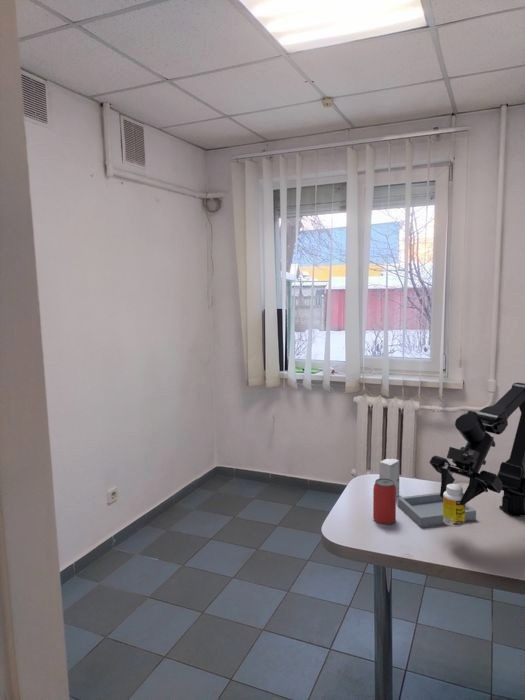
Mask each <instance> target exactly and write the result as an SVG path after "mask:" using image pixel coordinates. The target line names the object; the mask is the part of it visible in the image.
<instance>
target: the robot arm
mask: <svg viewBox="0 0 525 700" xmlns="http://www.w3.org/2000/svg"><path fill="white" fill-rule="evenodd" d="M517 409H519V411H520V416H519V420H518V424H517V427H516V431H515V436H514V439H513V443H512V444H513V445H512V446H511V452H510V454H509V455H510V456H509V458H508V459H507V460H506V461H502V462H501V463H500V466H499V470H498V472H497V474H496V473H493V472H491V471H487V470H481V468H482V466H486V464H487V461H486V457H487V456H488V453H489V451H490V449H491V447H493V448H495V447H496V442H495V439H494V436H491V434H494V435H501V434H503V432H504V431H506V429H507V427H508V425H509V422H508V421H509V418H510V416H511V415H512V414H513V413H514V412H515V411H516V410H517ZM454 426H455V428H456V430H457V431H458V433H459V434H460V435H461V436H462V438H463V439H464V440H465V441H466V445H465V446H461V447H459V448H455V447H452V446H449V447H448V452H447V455H446V458H445V457H442V456H439V455H433V456H432V457H431V459H430V460H429V462H428V463H429V464H430V466H432V468H433V469H434V470H435V471H436V472H437V473H439V474H440V476H441V477H440V478H441V480H440V481H441V484H440V492H439V493H440V496H441V497H442V498H443V493H444V492H445V491H446V488H447V485H448V484H454V482H455V480H456V479H455V478H454V476H453V474H455V475H459V476H461V477H462V476H463V477H464V478H468V479H469V482H468V486H467V487H466V489H465V491H464V492H463V493H464V495H463V497H462V499H461V502H460V504H461V505H462V506H463V505H464V504H468V502H470V501H471V500H473V499H475V498H476V497H477V496H480V495H482V494H483V493H488V492H489V491H491V492H494V493H496V494H501V492H502V491H503V496H501V497H502V499H501V505H499V509H500V510H502V509H503V510H502V511H504V512H505V513H507V514H508V515H510V516H511V515H512V516H511V517H513V516H516V517H521V516H520V515H523V516H525V383H524V382H514V383H513V384H512V385H511V387H510V389H509V390H508V391H507V392H506V393H505V394H504V395H502V397H500V398H499V400H497V401H496V403H495V404H493V405H489V406H485V407H484V408H482V409H480V410H479V411H478V412H476V411H473V410H468V412H467V413H464V414H461V415H459V417H458V418H457V417H456V420H455V422H454ZM448 460H452V461H451V462H452V464H451V462H449V461H448ZM480 470H481V471H480Z"/></svg>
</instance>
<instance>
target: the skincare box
mask: <svg viewBox="0 0 525 700" xmlns="http://www.w3.org/2000/svg"><path fill="white" fill-rule="evenodd" d="M378 463H379V470H378V472H379V473H378V474H379V475H378V476H379V477H378V479H380V478H386V479H390V480H392V481H394V485H395V487H396V498H398V496H399V495H400V460H399V459H394V458H391V457H388V458H386V459H383V460H381V461H379V462H378Z"/></svg>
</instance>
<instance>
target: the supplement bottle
mask: <svg viewBox="0 0 525 700" xmlns="http://www.w3.org/2000/svg"><path fill="white" fill-rule="evenodd" d="M464 493H465V492H464V491H463V486H462V485H460V484H458V483H453V484H448V485H447V488H446V491H445V492H444V493H443V522H444V523H445V524H444V525H447V526H450V527H453V528H459V527H460V528H461V527H463V526H464V525H465V524H466V522H465V504H464V505H463V506H462V505H461V504H460V502H461V499H462V497H463V495H464Z"/></svg>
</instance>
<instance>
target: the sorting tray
mask: <svg viewBox="0 0 525 700" xmlns="http://www.w3.org/2000/svg"><path fill="white" fill-rule="evenodd" d="M397 507H398V508H399V509H400V510H401V511H402V512H403V514H406V516H407V517H408V518H410V519H411V520H412V521H413V522H414V523H415V524H416V525H417V526H418V527H420V528H421V529H422V528H427V527H429V528H430V527H436V526H437V527H438V526H443V525H446V524H445V523H444V522H443V498H442V497H441V496H440V492H434V493H433V492H432V493H426V494H425V493H424V494H415V495H410V496H408V495H407V496H399V497H398V496H397ZM476 520H477V510H476V509H474V508H473V507H472V506H471V505H469V504H468V503H466V504H465V523H466V522H472V521H476Z"/></svg>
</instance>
